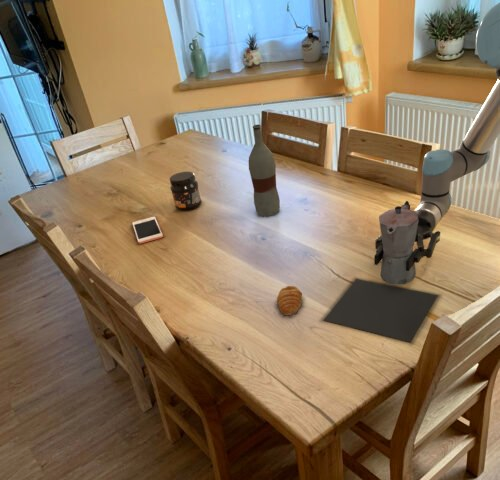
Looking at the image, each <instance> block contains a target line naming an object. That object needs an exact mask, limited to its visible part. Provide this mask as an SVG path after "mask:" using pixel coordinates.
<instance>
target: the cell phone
mask: <svg viewBox="0 0 500 480" xmlns="http://www.w3.org/2000/svg"><path fill="white" fill-rule="evenodd" d="M132 227H133V230H134V233H135V237H136V239H137V242H138V244H139V245H140V244H144V243H148V242H151V241H154V240H159V239H162V238H163V237H164V235H163V232H162V229H161V227H160V225H159V222H158V221H157V218H156V216H151V217H147V218H143V219H139V220H136V221H133V222H132Z"/></svg>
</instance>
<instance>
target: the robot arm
mask: <svg viewBox="0 0 500 480" xmlns="http://www.w3.org/2000/svg"><path fill="white" fill-rule="evenodd" d="M475 49H476V54H477V56H478V58H479V59H480V61H481V62H482V63H483V65H487V67H490V68H493V69H494V71H495V75H496V78H497V80H496V82H495V83H494V85H493V86H492V89H491V91H490V93H489V94H488V96H487V97H486V100H485V101H484V103H483V105H482V106H481V108H480V109H479V111H478V113H477V115H476V116H475V118H474V120H473V121H472V124H471V125H470V127H469V129H468V131H467V133H466V134H465V136H464V138H463V140H462V141H461V143H460V145H459V146H458V147H457V149H455V150H453V151H450V150H448V149H442V148H441V149H435V150H430V151H428V152H426V154H424V157H423V163H422V167H421V171H422V172H421V190H420V202H419V204H418V205H417V206H416V208H415V209H414V210H413V211H415V212H417V216H418V220H419V221H418V226H417V232H416V237H415V243H416V247H417V248H416V247H415V248H414V249H413V253H412V254H411V255H410V257H409V258H408V259H407V261H406V271H409V270H410V269H411V267H412V266H413V264H414V263H416V264H417V263H419V262H420V261H421V260H422V259H423V258H424V257H425V258H427V259H431V258H432V256H433V253H434V251H435V248H436V246H437V244H438V243H439V242H440V241H441V240H440V239H441V231H439V230H437V231H435V229H436V228H437V226H438V225H439V224H440V223H441V220H442V219H443V218H444V216H446V214H447V213H448V211H450V208H451V205H452V202H453V199H452V196H451V193H450V189H451V188H450V187H451V183H452V182H454V181H456V180H458V179H461V178H462V177H464V176H466V175H469V174H471V173H473V172H476V171H478V170H479V169H481V168H482V167H484V166H485V165H486V164H487V163H488V162H489V159H490V155H491V151H490V149H491V148H492V146H493V145H494V143H495V141H496V140H497V138H499V135H500V2H497V4H495V5H493V6H492V7H491V8H490V9H489V10H488V11H487V12H486V13H485V15H484V16H483V17H482V19H481V21H480V24H479V27H478V28H477V32H476V36H475ZM427 239H430V240H429V242H428V245H427V248H425V244H424V241H425V240H427ZM374 241H375V242H374V243H375V244H374V249H375V254H374V257H373V258H374V261H373V262H374V263H373V265H374V266H378V265H379V264H380V263H381V262H382V258H383V253H384V251H383V243H382V236H381V235H379V236H378V237H377V238H375V240H374Z"/></svg>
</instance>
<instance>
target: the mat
mask: <svg viewBox="0 0 500 480" xmlns="http://www.w3.org/2000/svg"><path fill="white" fill-rule="evenodd" d="M438 297H439V295H438V294H434V293H430V292H424V291H419V290H414V289H409V288H404V287H399V286H396V285H391V284H385V283H381V282H374V281H369V280H363V279H360V278H359V279H358V278H355V280H354V281H353V282H352V284H351V285H350V286H349V287H348V289H347V290H346V291H345V292H344V293H343V294H342V296H341V297H340V299H339V300H338V301H337V302H336V304H335V305H334V306H333V307H332V308H331V310H329V312H328V313H327V314H326V316H325V317H324V318H323V321H324V322H328V323H331V324H335V325H339V326H343V327H347V328H351V329H355V330H358V331H359V330H360V331H363V332H366V333H371V334H374V335H379V336H383V337H386V338H391V339H394V340H399V341H402V342H406V343H410V344H411V343H412V342H413V339H414V338H415V336H416V334H417V332H418V331H419V329H420V327H421V326H422V324H423V322H424V320H425V319H426V317H427V316H428V314H429V312H430V310H431V308H432V306H433V304H434V303H435V302H436V300H437V298H438Z"/></svg>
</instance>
